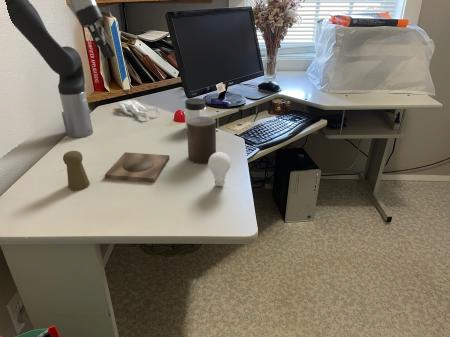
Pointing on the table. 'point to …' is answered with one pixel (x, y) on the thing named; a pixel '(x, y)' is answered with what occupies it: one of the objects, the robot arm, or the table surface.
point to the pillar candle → (201, 138)
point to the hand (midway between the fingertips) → (110, 57)
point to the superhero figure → (136, 108)
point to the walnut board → (138, 167)
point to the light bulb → (219, 167)
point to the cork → (75, 171)
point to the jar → (194, 108)
